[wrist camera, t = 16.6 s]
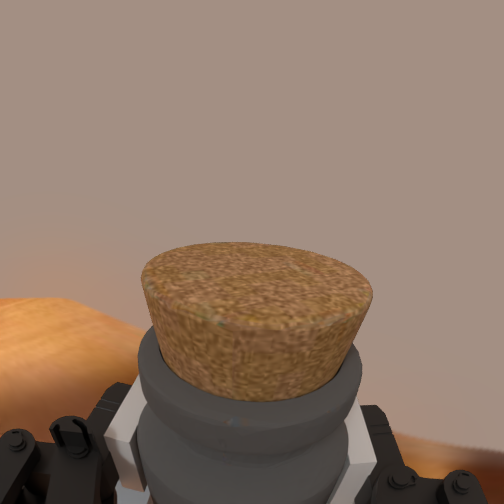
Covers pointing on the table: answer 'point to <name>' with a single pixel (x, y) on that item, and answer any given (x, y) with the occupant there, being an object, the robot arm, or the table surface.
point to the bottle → (248, 373)
